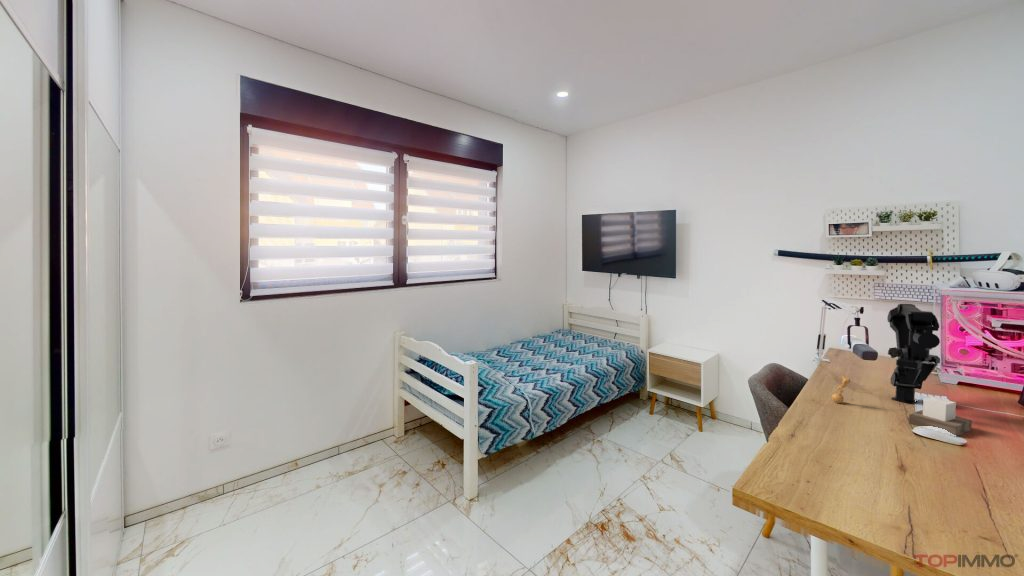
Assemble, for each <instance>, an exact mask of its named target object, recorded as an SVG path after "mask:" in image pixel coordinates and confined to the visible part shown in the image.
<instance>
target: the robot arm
mask: <svg viewBox="0 0 1024 576" xmlns="http://www.w3.org/2000/svg"><path fill="white" fill-rule="evenodd" d="M887 323H889V328H890V329H892V331H893V332H894V333H895V339H896V347H889V349H888V350H887V355H888V356H890V358H891V359H895V358H897V359H896V361H895V365H896V367H895V368H894V370H893V372H892V374H891V377H890V378H889V379H890V385H892V387H895V396H894V397H893V396H892V397H891V400H894V401H898V402H902V403H906V404H911V405H912V404H915V403H916V402H915V400H916V399H915V397H916V394H915V391H916V389H917V390H922V386H923V383H924V382H925V381H926V380H927V379H928V377H930V375H931V374H932V373H933V372H934V370H935V369H936V368H937V366H939V364H940V363H941V358H940V357H939V356H938V355H934V354H930V350H933V349H934V348H936V347H938V346H939V344H940V343H941V340H940V337H939V336H938V335H937V334H934V333H933V332H934V331H935V332H937V331H938V332H939V329H940V323H939V321H938V318H937V317H936V315H935V314H934V312H932V311H927V310H921V309H919V307H916V305H915V304H913V303H899V304H897V306H896V307H894V308H892V309H890V310H889V312H888V314H887Z"/></svg>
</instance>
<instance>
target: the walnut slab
mask: <svg viewBox="0 0 1024 576" xmlns="http://www.w3.org/2000/svg"><path fill="white" fill-rule="evenodd" d="M908 424H910V425H913V426H916V427H919V426H933V427H938V428H942V429H945V430H947V431H948V432H950V433H952V434H954V435H957V436H956V437H958V436H960V435H963V434H965V433H967V432H970V431H972V424H973V420H972V419H968V418H964V417H960V416H956V415H955V419H952V420H948V421H942V420H939V419H935V418H931V417H928V416H924V415H923V409H921V410H918V411H915V412H912V413H909V414H908Z"/></svg>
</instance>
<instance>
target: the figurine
mask: <svg viewBox="0 0 1024 576" xmlns="http://www.w3.org/2000/svg"><path fill="white" fill-rule="evenodd" d="M841 379H842V381H841V384H839V386H838V387H837V390H838V391H839V392H837V393H833V394H831V400H832V401H833V402H834V403H836V404H837V403H838V404H840V403H843V402H844V400H845V399H844V396H843V394H842V393H844V390H843V389H844V388H846V387H847V385H849V384H850V383H851V379H850V378H848V377H847V376H845V375H843V376H841Z"/></svg>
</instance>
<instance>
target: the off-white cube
mask: <svg viewBox="0 0 1024 576" xmlns="http://www.w3.org/2000/svg"><path fill="white" fill-rule="evenodd" d="M922 402H923V403H922V410H923V415H924V416H928V417H931V418H935V419H939V420H942V421H948V420H952V419H955V416H956V408H957V407H956V406H957V402H956V401H951V400H948V399H943V398H940V397H939V398H938V397H935V396H930V397H927V398H923V401H922Z"/></svg>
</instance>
